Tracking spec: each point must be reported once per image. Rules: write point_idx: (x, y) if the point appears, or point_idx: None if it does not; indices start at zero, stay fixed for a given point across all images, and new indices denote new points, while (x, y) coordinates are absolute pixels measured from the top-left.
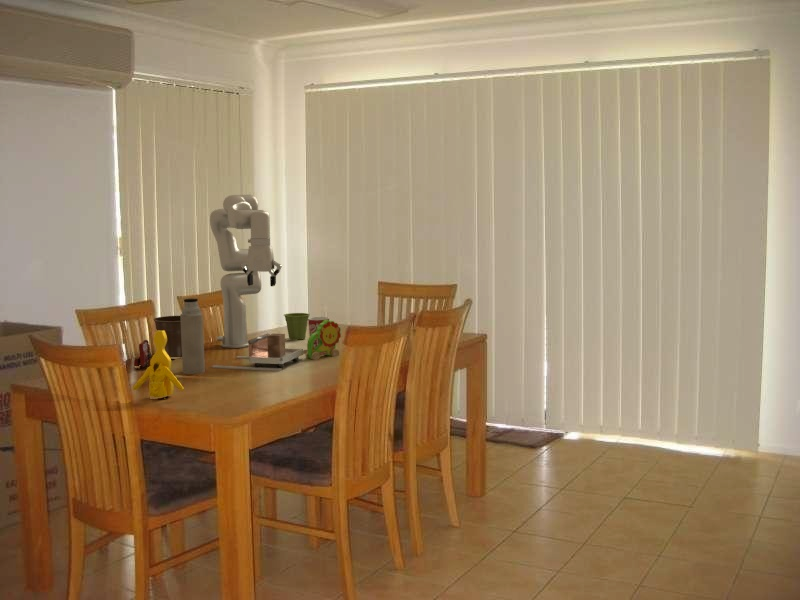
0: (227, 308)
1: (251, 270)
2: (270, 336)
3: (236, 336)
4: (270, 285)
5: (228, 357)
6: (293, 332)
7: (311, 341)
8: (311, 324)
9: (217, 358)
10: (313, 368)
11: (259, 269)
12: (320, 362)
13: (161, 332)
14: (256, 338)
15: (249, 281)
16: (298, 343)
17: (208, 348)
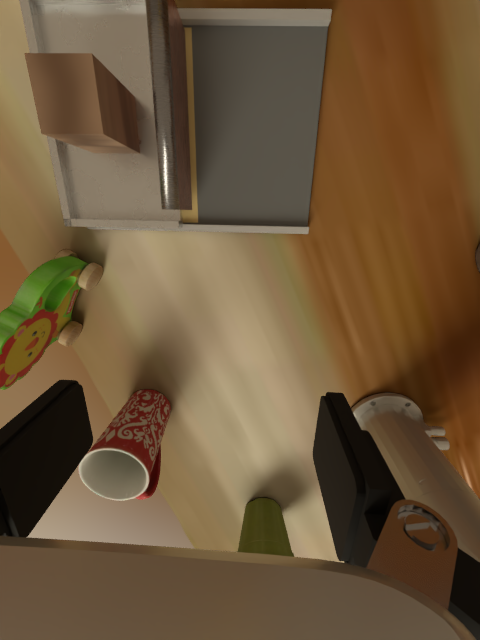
0: (471, 502)
1: (324, 570)
2: (76, 55)
3: (385, 423)
4: (75, 385)
5: (349, 269)
6: (265, 513)
7: (41, 265)
8: (130, 439)
9: (378, 247)
10: (10, 140)
11: (56, 597)
12: (49, 243)
13: None
14: (151, 48)
15: (336, 421)
16: (237, 467)
17: (449, 384)
